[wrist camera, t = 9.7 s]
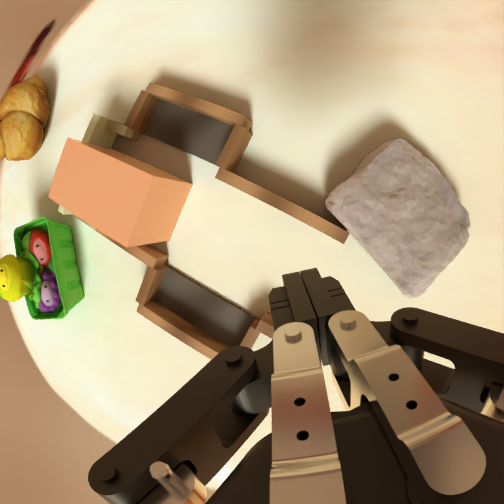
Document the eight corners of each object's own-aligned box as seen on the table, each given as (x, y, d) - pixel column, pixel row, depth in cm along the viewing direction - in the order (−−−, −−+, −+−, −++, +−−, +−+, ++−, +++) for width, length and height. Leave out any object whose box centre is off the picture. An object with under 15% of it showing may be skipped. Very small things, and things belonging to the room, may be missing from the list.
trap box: (372, 181, 26) (377, 178, 23) (264, 374, 30) (259, 386, 28) (141, 84, 30) (129, 76, 27) (75, 251, 34) (60, 254, 31)
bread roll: (33, 82, 34) (-4, 70, 26) (70, 77, 32) (28, 59, 24) (11, 162, 36) (-28, 158, 28) (45, 167, 34) (-1, 163, 26)
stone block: (382, 137, 27) (313, 209, 27) (399, 118, 22) (321, 199, 22) (460, 227, 26) (400, 302, 27) (488, 223, 21) (423, 310, 22)
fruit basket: (94, 307, 34) (25, 335, 23) (52, 310, 36) (-10, 333, 25) (76, 213, 33) (2, 216, 22) (36, 228, 35) (-30, 235, 24)
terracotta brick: (193, 184, 30) (153, 175, 22) (170, 240, 31) (126, 247, 24) (113, 149, 31) (67, 137, 24) (95, 198, 32) (48, 197, 25)
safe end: (121, 124, 31) (99, 116, 27) (86, 213, 33) (62, 214, 29) (116, 122, 31) (93, 113, 27) (81, 210, 33) (57, 210, 29)
